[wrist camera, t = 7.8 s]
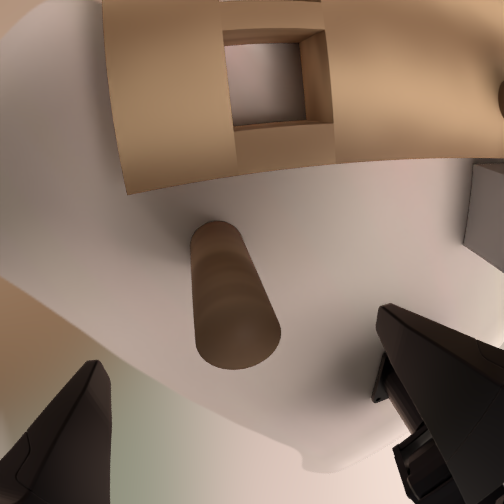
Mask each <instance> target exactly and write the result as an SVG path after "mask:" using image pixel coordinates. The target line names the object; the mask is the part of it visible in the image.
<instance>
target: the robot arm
mask: <svg viewBox="0 0 504 504" xmlns="http://www.w3.org/2000/svg"><path fill="white" fill-rule="evenodd" d="M376 331H377V334H378V336H379V338H380V340H381V342H382V344H383V347H384V349H385V351H386V352H385V353H384V354H383V357H382V361H381V365H380V369H379V373H378V377H377V380H376V384H375V388H374V391H373V395H372V401H373V402H374V403H378V402H380V401H383V400H385V399H388V398H389V399H390V401H391V402H392V404H393V405H394V407H395V409H396V410H397V412H398V413H399V415H400V417H401V418H402V420H403V421H404V423H405V425H406V426H407V428H408V429H409V431H410V433H411V434H412V435H410V436H409V437H408V438H407V439H405V440H404V441H403V442H402V443H400V444H397V445H396V446H395V447H393V448H392V449H393V452H394V455H395V457H394V458H395V461H396V464H397V467H398V470H399V473H400V476H401V479H402V482H403V485H404V488H405V492H406V494H407V496H408V498H409V499H411V500H412V501H413V502H414V503H415V504H504V350H502V349H499V348H497V347H494V346H492V345H489V344H487V343H484V342H482V341H480V340H476V339H475V338H472V337H470V336H468V335H465V334H463V333H461V332H458V331H456V330H453V329H451V328H449V327H446V326H444V325H442V324H439V323H437V322H435V321H432V320H430V319H427V318H425V317H423V316H420V315H418V314H416V313H413V312H411V311H408V310H406V309H404V308H401V307H399V306H396V305H394V304H391V303H388V304H385V305H382V306H380V307H379V309H378V314H377V321H376ZM111 433H112V412H111V382H110V378H109V376H108V374H107V372H106V371H105V369H104V367H103V365H102V363H101V362H100V361H99V360H89V361H87V362H85V364H84V365H83V366H82V367H81V368H80V369H79V370H78V371H77V372H76V374H75V375H74V376H73V377H72V378H71V379H70V380H69V382H68V383H67V384H66V385H65V386H64V387H63V389H62V390H61V391H60V392H59V393H58V394H57V395H56V397H55V398H54V399H53V400H52V401H51V402H50V403H49V404H48V406H47V407H46V408H45V409H44V410H43V412H42V413H41V414H40V415H39V416H38V418H37V419H36V420H35V421H34V422H33V424H32V425H31V426H30V427H29V428H28V429H27V432H25V433H24V434H23V435H22V437H21V438H20V439H19V440H18V441H17V443H16V444H15V445H14V446H13V447H12V449H11V450H10V451H9V452H8V453H7V454H6V455H5V456H4V457H3V458H2V459H1V460H0V504H110V455H111Z"/></svg>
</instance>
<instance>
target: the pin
mask: <svg viewBox="0 0 504 504" xmlns="http://www.w3.org/2000/svg"><path fill="white" fill-rule="evenodd" d="M190 255H191V278H192V297H193V314H194V328H195V342H196V348H197V350H198V352H199V354H200V356H201V357H202V358H203V359H204V360H205V361H206V362H208V363H209V364H211V365H213V366H216V367H218V368H222V369H229V370H237V369H245V368H249V367H252V366H254V365H257V364H259V363H261V362H262V361H264V360H265V359H267V358H268V357H269V356H270V355H271V354H272V353H273V352H274V351H275V349H276V348H277V346H278V344H279V341H280V338H281V328H280V324H279V322H278V319H277V317H276V315H275V312H274V310H273V308H272V306H271V303H270V301H269V299H268V296H267V294H266V292H265V289H264V287H263V285H262V283H261V280H260V278H259V276H258V273H257V271H256V269H255V266H254V264H253V262H252V260H251V257H250V255H249V253H248V250H247V248H246V246H245V243H244V241H243V239H242V236H241V234H240V233H239V231H238V230H237V229H236V228H235V227H234V226H233V225H231V224H229V223H226V222H222V221H213V222H209V223H206V224H204V225H202V226H201V227H200V228H198V229H197V230H196V232H195V233H194V235H193V237H192V239H191V243H190Z"/></svg>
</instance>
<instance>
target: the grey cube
mask: <svg viewBox="0 0 504 504" xmlns="http://www.w3.org/2000/svg"><path fill="white" fill-rule="evenodd" d="M463 245H464V246H465V247H467V248H468V249H470V250H471V251H473V252H474V253H476V254H477V255H479V256H480V257H482V258H483V259H485V260H486V261H487V262H489V263H490V264H492V265H493V266H495V267H496V268H497V269H499V270H500V271H502V272H503V273H504V163H489V164H473V176H472V187H471V197H470V205H469V213H468V220H467V226H466V233H465V239H464V244H463Z"/></svg>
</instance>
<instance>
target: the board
mask: <svg viewBox="0 0 504 504" xmlns="http://www.w3.org/2000/svg"><path fill="white" fill-rule="evenodd" d="M102 14H103V32H104V46H105V58H106V68H107V77H108V86H109V94H110V101H111V109H112V115H113V122H114V128H115V134H116V140H117V146H118V152H119V157H120V162H121V167H122V172H123V177H124V182H125V187H126V192H127V195H131V194H136V193H141V192H146V191H151V190H156V189H161V188H166V187H172V186H177V185H182V184H188V183H194V182H200V181H206V180H212V179H218V178H224V177H231V176H238V175H244V174H252V173H259V172H267V171H274V170H282V169H291V168H300V167H309V166H319V165H329V164H341V163H353V162H366V161H382V160H400V159H425V158H504V0H293V1H289V0H244V1H225V2H219V0H102ZM262 43H299V48H300V57H301V66H302V76H303V87H304V98H305V110H306V120H296V121H282V122H271V123H260V124H251V125H242V126H234V127H233V122H232V113H231V104H230V95H229V87H228V78H227V69H226V60H225V51H224V46H230V45H243V44H262Z"/></svg>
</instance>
